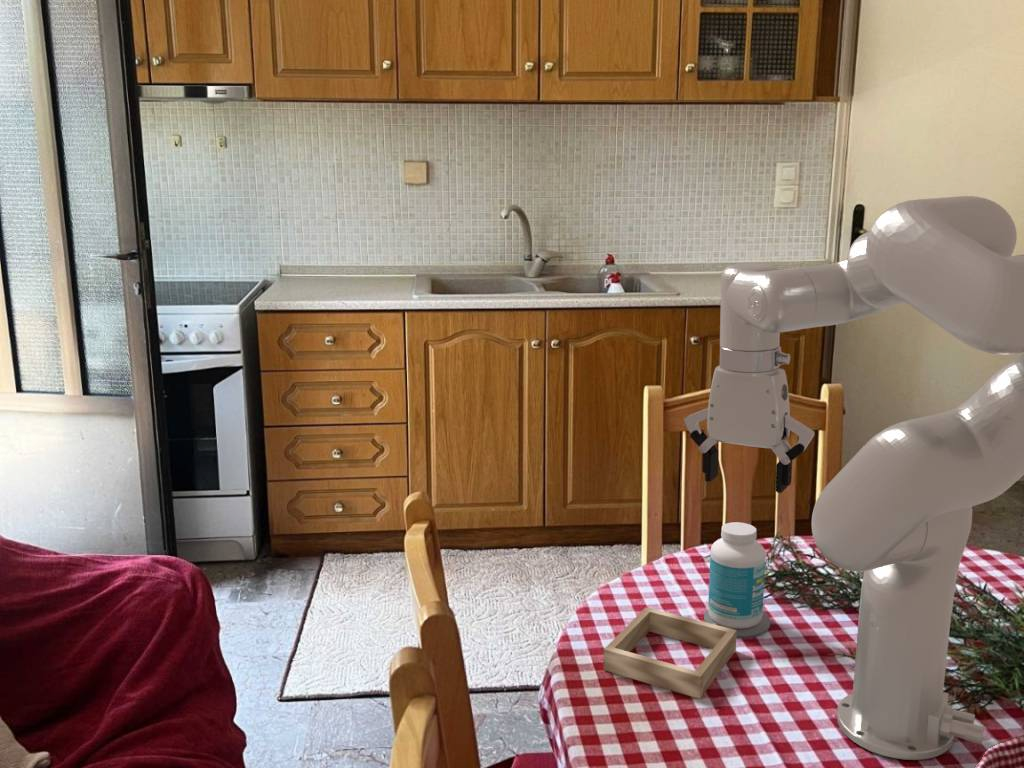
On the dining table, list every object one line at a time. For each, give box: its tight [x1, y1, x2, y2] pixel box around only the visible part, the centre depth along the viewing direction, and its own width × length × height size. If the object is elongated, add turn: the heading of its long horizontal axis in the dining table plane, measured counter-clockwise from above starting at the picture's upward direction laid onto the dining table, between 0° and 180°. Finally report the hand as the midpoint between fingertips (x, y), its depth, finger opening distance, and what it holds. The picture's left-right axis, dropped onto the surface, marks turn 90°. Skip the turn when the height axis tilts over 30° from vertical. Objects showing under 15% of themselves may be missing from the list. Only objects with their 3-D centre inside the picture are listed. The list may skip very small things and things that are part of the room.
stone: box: [703, 608, 771, 639], centre depth 140 cm, size 9×9×1 cm
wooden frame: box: [603, 606, 738, 700], centre depth 130 cm, size 13×13×3 cm
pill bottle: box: [707, 521, 767, 629], centre depth 138 cm, size 8×7×14 cm
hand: (745, 484), depth 134 cm, fingers open, 9 cm apart
